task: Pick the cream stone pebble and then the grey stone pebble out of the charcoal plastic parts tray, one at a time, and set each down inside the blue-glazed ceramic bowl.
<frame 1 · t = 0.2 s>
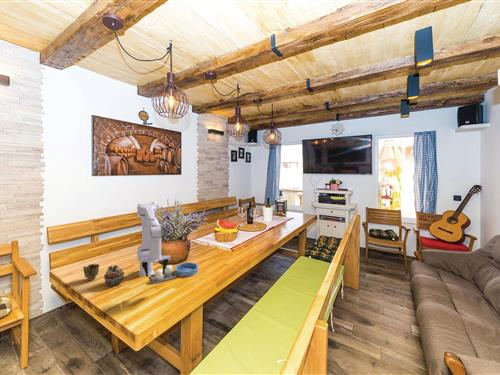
hand: (155, 275, 115), 10 cm above the table, fingers open, 7 cm apart
tray: (163, 278, 131), on the table
pebble a: (159, 279, 128), resting on tray
cupcake: (114, 283, 124), on the table
bowl: (186, 272, 140), on the table
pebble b: (168, 275, 134), resting on tray
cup: (91, 279, 127), on the table
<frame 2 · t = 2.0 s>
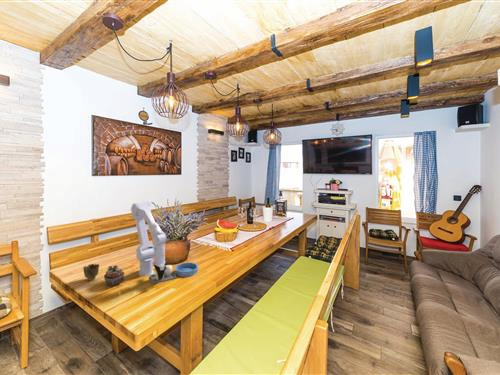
hand: (159, 277, 128), 2 cm above the table, fingers closed on pebble a, 4 cm apart
pebble a: (159, 279, 128), resting on tray, touching gripper
everything else where it was.
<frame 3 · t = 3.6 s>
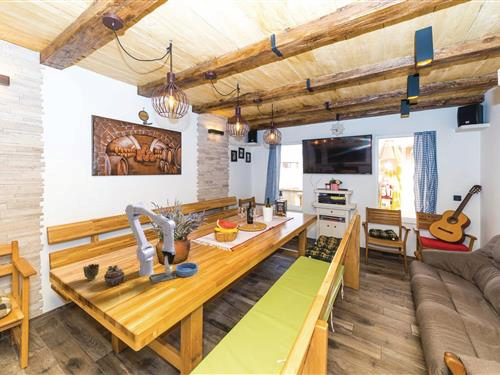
hand: (168, 263, 132), 9 cm above the table, fingers closed on pebble a, 4 cm apart
pebble a: (168, 265, 132), point 8 cm above the table, touching gripper
everything else where it was.
when the fingers open (4 cm above the table, at t = 5.5 s): pebble a drops 2 cm, resting on bowl.
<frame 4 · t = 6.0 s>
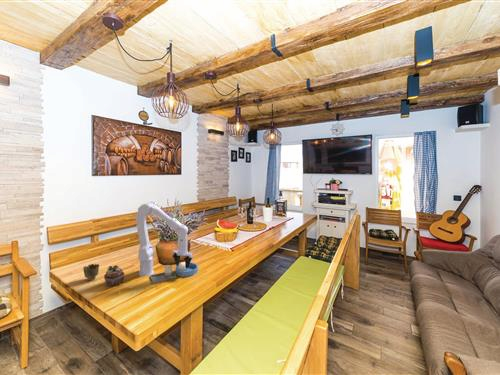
hand: (182, 266, 138), 4 cm above the table, fingers open, 7 cm apart
pebble a: (182, 272, 138), point 1 cm above the table, touching bowl
everything else where it was.
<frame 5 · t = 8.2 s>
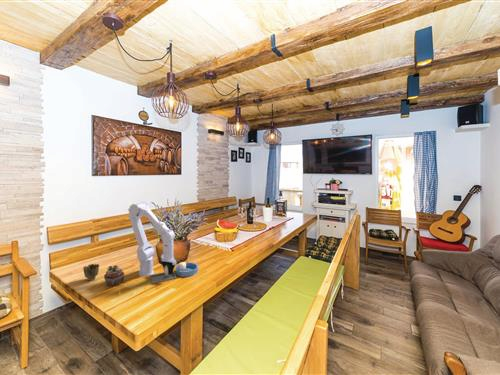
hand: (168, 272, 134), 2 cm above the table, fingers closed on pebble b, 4 cm apart
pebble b: (168, 275, 134), resting on tray, touching gripper
everything else where it was.
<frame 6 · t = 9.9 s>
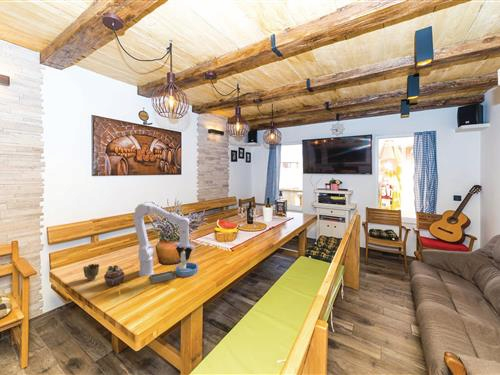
hand: (184, 258, 138), 9 cm above the table, fingers closed on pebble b, 4 cm apart
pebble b: (184, 261, 138), point 8 cm above the table, touching gripper
everything else where it was.
when the fingers open (4 cm above the table, at t = 11.6 s): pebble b drops 2 cm, resting on bowl.
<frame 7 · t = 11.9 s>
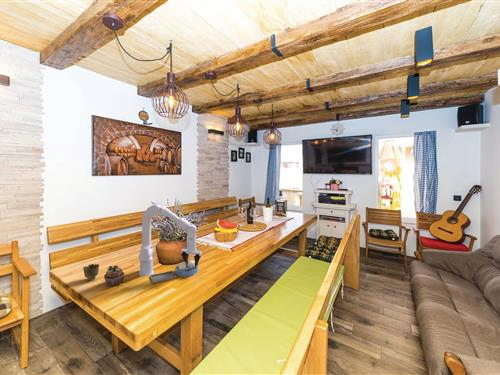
hand: (191, 264, 141), 4 cm above the table, fingers open, 7 cm apart
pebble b: (191, 270, 141), point 1 cm above the table, touching bowl
everything else where it was.
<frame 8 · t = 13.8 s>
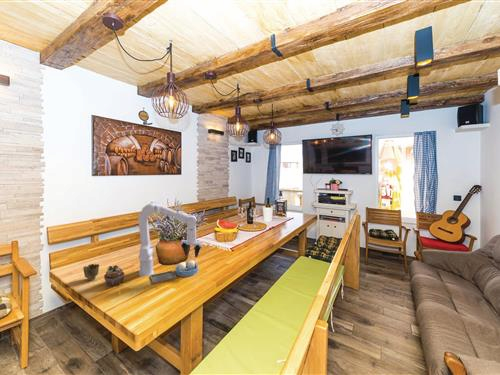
hand: (191, 255, 141), 10 cm above the table, fingers open, 7 cm apart
nothing on the table moved.
at the end: pebble a inside the target area on the bowl (2.9 cm from its centre), point 0.8 cm above the bowl's base; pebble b inside the target area on the bowl (2.7 cm from its centre), point 0.8 cm above the bowl's base; the gripper is holding nothing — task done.
